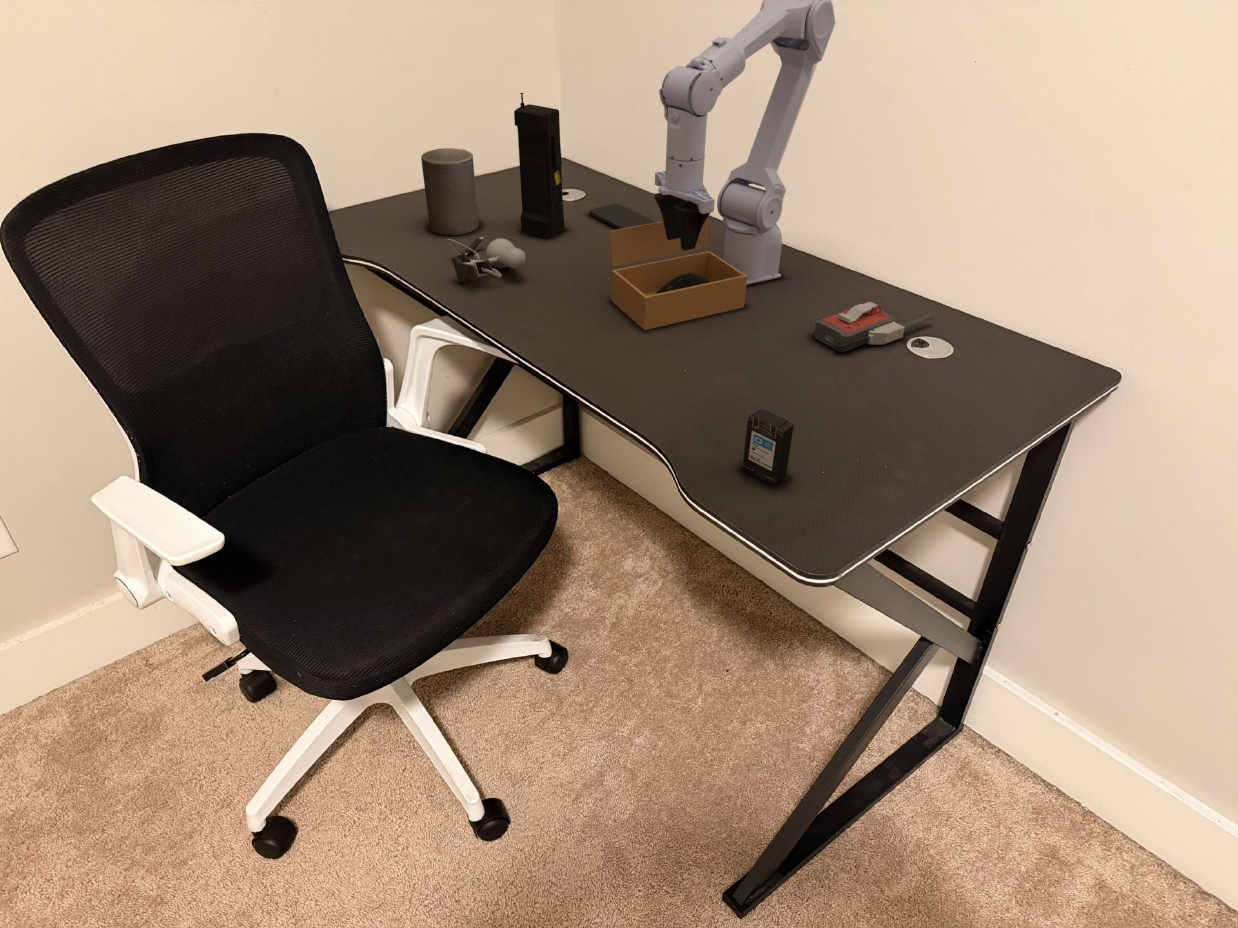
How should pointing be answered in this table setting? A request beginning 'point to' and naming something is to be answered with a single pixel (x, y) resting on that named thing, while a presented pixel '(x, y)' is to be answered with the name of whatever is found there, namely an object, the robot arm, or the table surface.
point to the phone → (619, 216)
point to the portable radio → (540, 169)
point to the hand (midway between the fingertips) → (680, 243)
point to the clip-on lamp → (497, 253)
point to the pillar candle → (450, 191)
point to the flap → (649, 243)
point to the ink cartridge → (767, 446)
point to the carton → (655, 310)
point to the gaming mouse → (683, 282)
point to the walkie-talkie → (861, 327)
